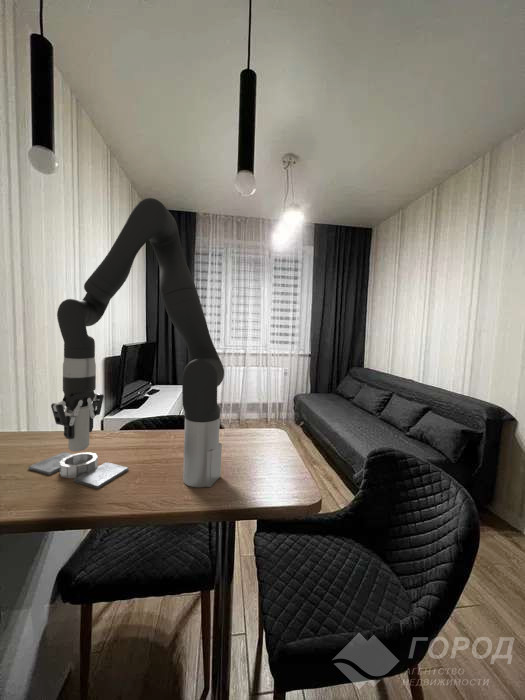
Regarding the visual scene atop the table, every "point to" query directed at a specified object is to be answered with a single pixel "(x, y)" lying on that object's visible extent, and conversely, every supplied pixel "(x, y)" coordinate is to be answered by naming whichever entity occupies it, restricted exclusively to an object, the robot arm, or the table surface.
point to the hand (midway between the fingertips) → (79, 434)
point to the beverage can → (80, 430)
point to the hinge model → (80, 468)
